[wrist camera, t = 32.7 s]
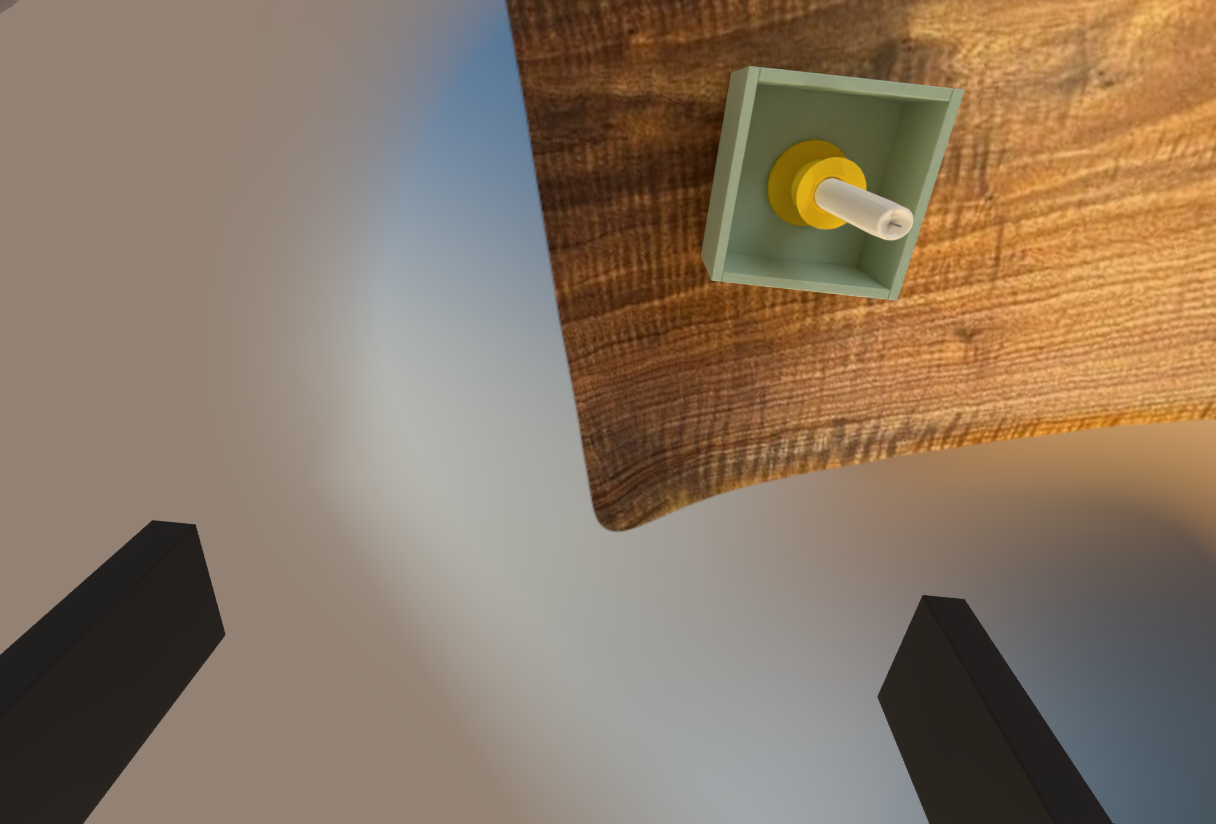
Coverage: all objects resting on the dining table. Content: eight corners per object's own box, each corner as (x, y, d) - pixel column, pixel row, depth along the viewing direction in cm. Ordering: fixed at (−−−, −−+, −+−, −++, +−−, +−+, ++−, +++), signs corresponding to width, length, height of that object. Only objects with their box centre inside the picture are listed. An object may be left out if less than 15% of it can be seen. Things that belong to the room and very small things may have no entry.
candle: (828, 234, 41) (928, 301, 27) (754, 213, 40) (816, 269, 26) (863, 152, 38) (992, 179, 24) (784, 128, 38) (870, 141, 24)
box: (700, 256, 42) (711, 280, 36) (731, 71, 37) (748, 65, 31) (861, 273, 42) (897, 301, 36) (913, 91, 37) (965, 89, 31)
